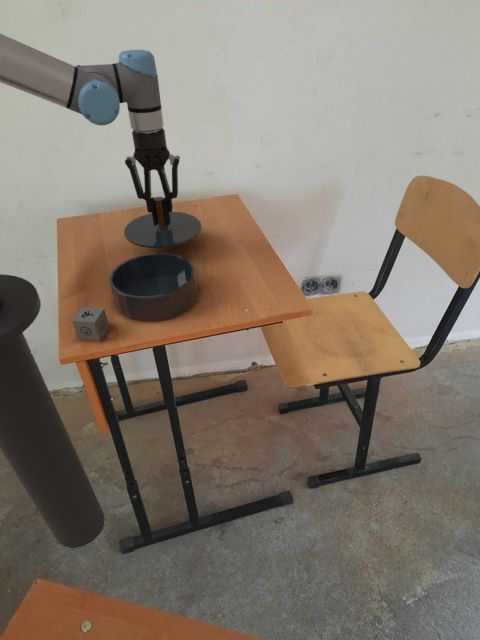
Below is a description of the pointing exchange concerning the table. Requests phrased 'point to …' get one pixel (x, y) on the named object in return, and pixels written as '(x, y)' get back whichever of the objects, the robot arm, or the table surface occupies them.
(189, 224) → the lid
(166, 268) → the pot
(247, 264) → the table surface
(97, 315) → the dice cube
